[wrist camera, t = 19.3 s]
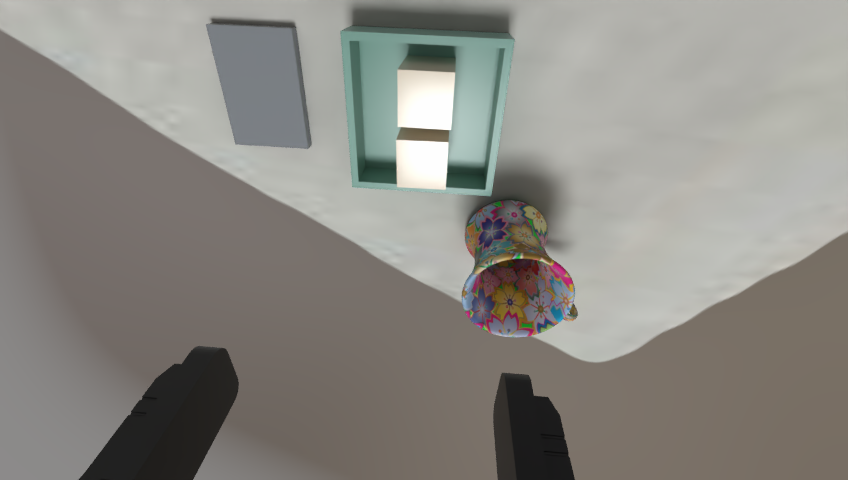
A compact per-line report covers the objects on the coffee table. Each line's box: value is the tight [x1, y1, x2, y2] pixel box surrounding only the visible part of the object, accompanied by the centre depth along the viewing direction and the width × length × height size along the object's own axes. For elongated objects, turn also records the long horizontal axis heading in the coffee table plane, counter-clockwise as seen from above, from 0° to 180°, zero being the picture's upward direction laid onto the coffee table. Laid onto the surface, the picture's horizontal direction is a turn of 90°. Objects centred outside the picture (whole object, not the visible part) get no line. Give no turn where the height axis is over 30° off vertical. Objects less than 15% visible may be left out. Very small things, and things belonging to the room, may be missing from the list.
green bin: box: [341, 26, 515, 196], centre depth 33 cm, size 13×13×4 cm
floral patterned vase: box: [462, 200, 578, 337], centre depth 37 cm, size 12×9×11 cm
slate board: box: [206, 23, 311, 149], centre depth 34 cm, size 10×7×1 cm
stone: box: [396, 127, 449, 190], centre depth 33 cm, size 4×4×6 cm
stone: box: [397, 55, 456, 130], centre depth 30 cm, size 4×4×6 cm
